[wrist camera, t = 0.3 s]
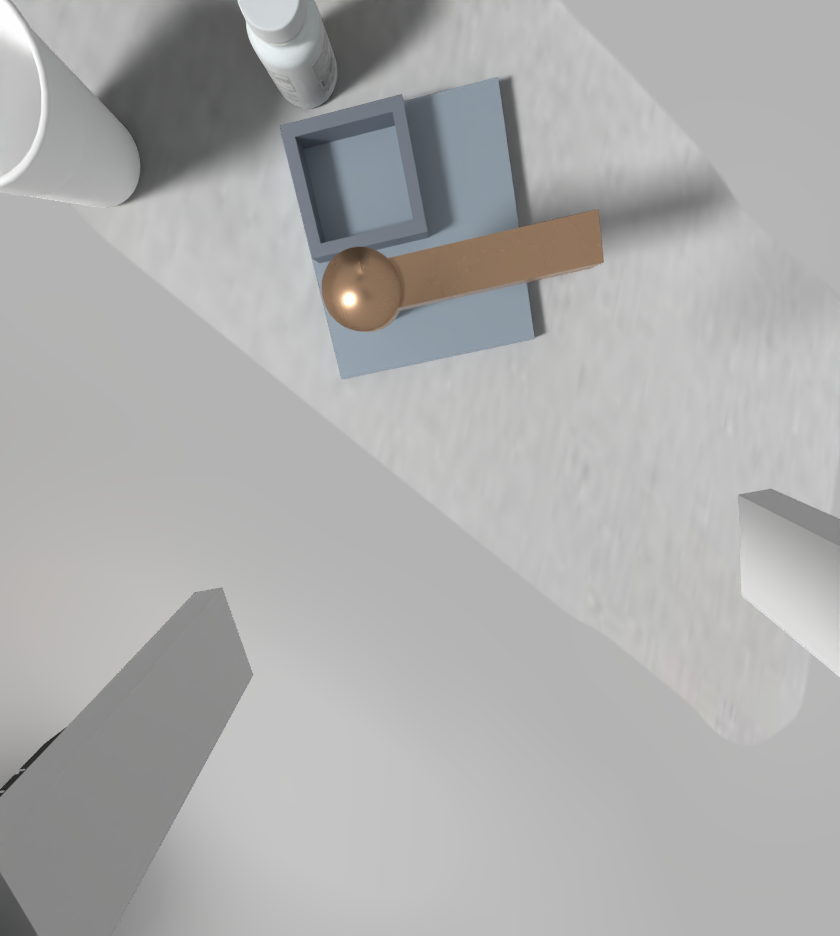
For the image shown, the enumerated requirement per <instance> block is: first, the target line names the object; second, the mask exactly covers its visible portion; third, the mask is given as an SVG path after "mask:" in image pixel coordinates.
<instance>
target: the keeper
mask: <svg viewBox="0 0 840 936" xmlns="http://www.w3.org/2000/svg"><path fill="white" fill-rule="evenodd" d="M603 262H604V260H603V250H602V240H601V230H600V220H599V210H598V209H597V210H593V211H589V212H584V213H580V214H576V215H572V216H567V217H563V218H559V219H554V220H550V221H546V222H541V223H537V224H533V225H528V226H524V227H520V228H515V229H511V230H507V231H502V232H498V233H494V234H489V235H485V236H481V237H476V238H472V239H468V240H463V241H459V242H455V243H450V244H446V245H442V246H438V247H433V248H429V249H425V250H420V251H416V252H412V253H407V254H403V255H399V256H394V257H390V258H387V257H386V256H384V255H383V254H382V253H380V252H378V251H377V250H374V249H372V248H368V247H352V248H348V249H346V250H344V251H342V252H340V253H339V254H337V255H336V256H335V257H334V258H333V259H332V260H331V261H330V262H329V264H328V265H327V267H326V269H325V271H324V275H323V278H322V286H321V289H322V297H323V301H324V304H325V306H326V309H327V310H328V312H329V314H330V315H331V316H332V317H333V318H334V319H335V320H336V321H337V322H338V323H339V324H340V325H342V326H344V327H346V328H348V329H351V330H354V331H360V332H376V331H379V330H382V329H384V328H386V327H387V326H389V325H390V324H391V323H392V322H393V321H394V320H395V319H396V317H397V316H398V314H399V312H400V311H401V310H405V309H410V308H414V307H419V306H423V305H428V304H432V303H437V302H441V301H446V300H451V299H455V298H460V297H464V296H469V295H473V294H478V293H482V292H487V291H491V290H496V289H500V288H505V287H509V286H514V285H518V284H523V283H527V282H532V281H536V280H541V279H545V278H550V277H554V276H559V275H563V274H568V273H573V272H577V271H582V270H586V269H591V268H593V267H595V266H597V265H599V264H601V263H603Z"/></svg>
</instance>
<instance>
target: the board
mask: <svg viewBox="0 0 840 936" xmlns="http://www.w3.org/2000/svg"><path fill="white" fill-rule="evenodd" d="M280 129H281V135H282V139H283V143H284V147H285V151H286V155H287V159H288V163H289V168H290V172H291V176H292V180H293V184H294V188H295V192H296V196H297V200H298V204H299V208H300V212H301V216H302V220H303V225H304V229H305V233H306V237H307V241H308V245H309V249H310V253H311V257H312V261H313V265H314V269H315V273H316V277H317V281H318V286H319V290H320V294H321V298H322V302H323V306H324V310H325V314H326V318H327V322H328V326H329V330H330V334H331V338H332V342H333V347H334V351H335V355H336V359H337V363H338V367H339V371H340V375H341V379H347V378H351V377H356V376H361V375H366V374H370V373H375V372H380V371H385V370H389V369H394V368H399V367H404V366H408V365H413V364H418V363H423V362H427V361H432V360H437V359H441V358H446V357H451V356H456V355H460V354H465V353H470V352H475V351H479V350H484V349H489V348H494V347H498V346H503V345H508V344H513V343H517V342H522V341H527V340H532V339H535V338H534V331H533V323H532V316H531V309H530V302H529V295H528V288H527V283H523V284H518V285H514V286H509V287H505V288H500V289H496V290H491V291H487V292H482V293H478V294H473V295H469V296H464V297H460V298H455V299H451V300H446V301H441V302H437V303H432V304H428V305H423V306H419V307H414V308H410V309H405V310H401V311H400V312H399V314H398V316H397V317H396V319H395V320H394V321H393V322H392V323H391V324H390V325H389V326H387V327H386V328H384V329H382V330H379V331H376V332H360V331H354V330H351V329H348V328H346V327H344V326H342V325H340V324H339V323H338V322H337V321H336V320H335V319H334V318H333V317H332V316H331V315H330V314H329V312H328V310H327V309H326V306H325V304H324V301H323V297H322V289H321V286H322V278H323V275H324V271H325V269H326V267H327V265H328V264H329V262H330V261H331V260H332V259H333V258H334V257H335V256H336V255H337V254H339V253H340V252H342V251H344V250H346V249H348V248H352V247H368V248H372V249H374V250H377V251H378V252H380V253H382V254H383V255H384V256H386V257H387V258H390V257H394V256H399V255H403V254H407V253H412V252H416V251H420V250H425V249H429V248H433V247H438V246H442V245H446V244H450V243H455V242H459V241H463V240H468V239H472V238H476V237H481V236H485V235H489V234H494V233H498V232H502V231H507V230H511V229H515V228H519V223H518V216H517V209H516V202H515V195H514V188H513V180H512V173H511V166H510V159H509V152H508V145H507V137H506V130H505V123H504V116H503V109H502V102H501V95H500V87H499V80H498V77H496V78H492V79H488V80H485V81H481V82H477V83H473V84H469V85H465V86H461V87H458V88H454V89H450V90H446V91H442V92H438V93H434V94H430V95H427V96H423V97H419V98H415V99H411V100H407V101H403V97H402V94H400V95H396V96H393V97H389V98H385V99H381V100H377V101H373V102H370V103H366V104H362V105H358V106H354V107H350V108H347V109H343V110H339V111H335V112H331V113H327V114H323V115H320V116H316V117H312V118H308V119H304V120H300V121H297V122H293V123H289V124H285V125H281V126H280Z"/></svg>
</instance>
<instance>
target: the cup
mask: <svg viewBox="0 0 840 936" xmlns="http://www.w3.org/2000/svg"><path fill="white" fill-rule="evenodd" d="M139 176H140V158H139V153H138V150H137V146H136V144H135V142H134V140H133V138H132V136H131V135H130V133H129V132H128V130H127V129H126V128H125V127H124V126H123V124H122V123H121V122H120V121H119V120H118V119H117V118H116V117H115V116H114V115H113V114H112V113H111V112H110V111H109V110H108V109H107V108H106V107H105V106H104V105H103V104H102V102H101V101H100V100H99V99H98V98H97V97H96V96H95V95H94V94H93V93H92V92H91V91H90V90H89V89H88V88H87V87H86V86H85V85H84V84H83V83H82V81H81V80H80V79H79V78H78V77H77V76H76V75H75V74H74V73H73V72H72V71H71V70H70V69H69V68H68V67H67V66H66V65H65V64H64V63H63V61H62V60H61V59H60V58H59V57H58V56H57V55H56V54H55V53H54V52H53V51H52V50H51V49H50V48H49V47H48V46H47V45H46V43H45V42H44V41H43V40H42V39H41V38H40V37H39V36H38V35H37V34H36V33H35V32H34V31H33V30H32V29H31V28H30V26H29V24H28V23H27V22H26V20H25V19H24V17H23V16H22V14H21V13H20V11H19V10H18V8H17V7H16V6H15V5H14V3H13V2H12V1H11V0H0V192H1V193H7V194H14V195H20V196H28V197H35V198H41V199H49V200H56V201H62V202H68V203H74V204H80V205H87V206H93V207H101V208H108V207H113V206H117V205H119V204H121V203H123V202H124V201H125V200H127V199H128V198H129V197H130V196H131V194H132V193H133V192H134V190H135V188H136V186H137V184H138V180H139Z"/></svg>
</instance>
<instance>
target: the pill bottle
mask: <svg viewBox="0 0 840 936" xmlns="http://www.w3.org/2000/svg"><path fill="white" fill-rule="evenodd" d="M238 4H239V7H240V9H241V12H242V14H243V16H244V17H245V19H246V28H247V33H248V37H249V40H250V42H251V44H252V47H253V48H254V50H255V52H256V54H257V55H258V57H259V59H260V60H261V62H262V63H263V65H264V66H265V68H266V70H267V71H268V73H269V75H270V76H271V78H272V80H273V81H274V83H275V85H276V86H277V88H278V89H279V91H280V92H281V94H282V95H283V96H284V97H285V98H286V100H288V101H289V102H290V103H291V104H293V105H295V106H297V107H300V108H306V109H308V108H314V107H317V106H319V105H321V104H323V103H324V102H325V101H326V100H328V99H329V97H330V96H331V94H332V93H333V90H334V88H335V85H336V82H337V74H338V71H337V63H336V58H335V55H334V53H333V50H332V47H331V44H330V41H329V38H328V36H327V33H326V30H325V27H324V24H323V22H322V19H321V16H320V13H319V10H318V8H317V5H316V3H315V1H314V0H238Z"/></svg>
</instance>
